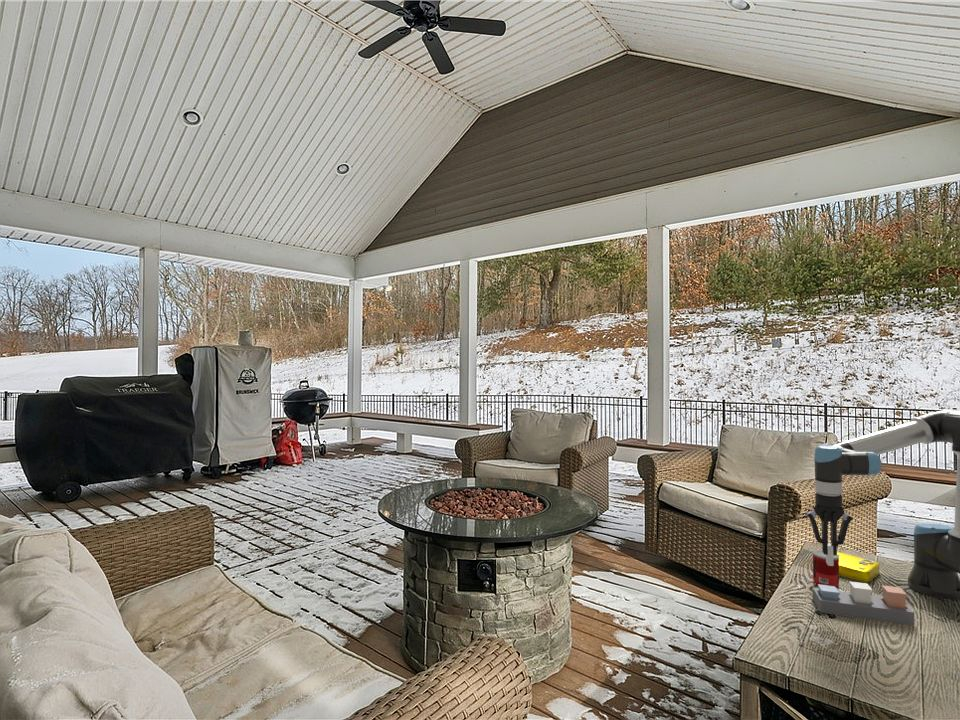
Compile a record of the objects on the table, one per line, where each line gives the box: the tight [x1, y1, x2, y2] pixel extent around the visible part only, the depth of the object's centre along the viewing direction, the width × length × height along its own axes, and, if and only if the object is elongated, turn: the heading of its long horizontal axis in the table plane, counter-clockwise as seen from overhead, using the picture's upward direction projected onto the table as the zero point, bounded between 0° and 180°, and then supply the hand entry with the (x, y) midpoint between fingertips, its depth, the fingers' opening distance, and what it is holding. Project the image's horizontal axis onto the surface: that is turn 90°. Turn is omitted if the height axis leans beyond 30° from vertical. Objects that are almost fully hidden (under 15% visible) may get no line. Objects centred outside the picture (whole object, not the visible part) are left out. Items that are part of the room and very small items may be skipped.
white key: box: [848, 580, 874, 604], centre depth 172 cm, size 5×5×5 cm
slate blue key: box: [817, 584, 840, 600], centre depth 175 cm, size 5×5×5 cm
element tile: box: [837, 551, 880, 583], centre depth 204 cm, size 15×15×5 cm
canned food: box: [812, 550, 840, 589], centre depth 193 cm, size 8×8×11 cm
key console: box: [812, 587, 915, 626], centre depth 172 cm, size 25×10×4 cm, turn 70°
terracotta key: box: [881, 584, 908, 609], centre depth 169 cm, size 5×5×5 cm
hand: (829, 564), depth 175 cm, fingers closed
